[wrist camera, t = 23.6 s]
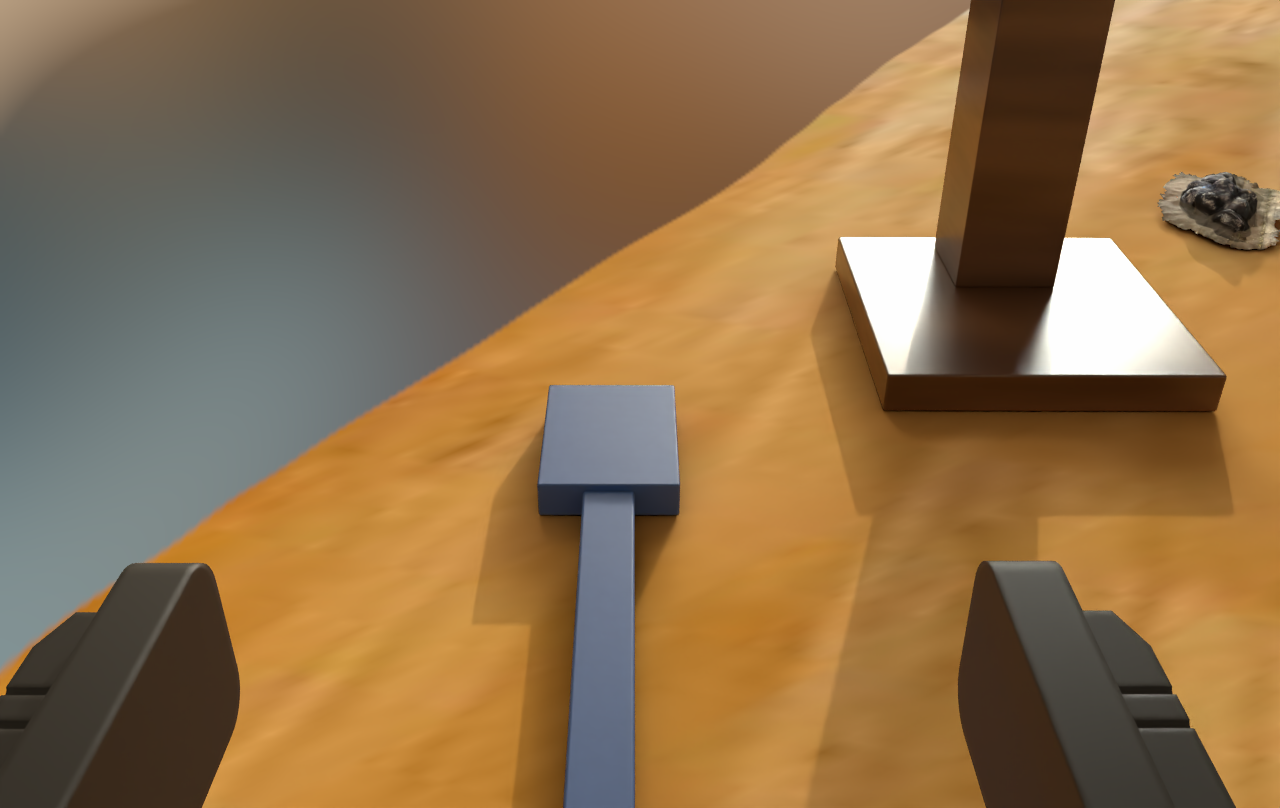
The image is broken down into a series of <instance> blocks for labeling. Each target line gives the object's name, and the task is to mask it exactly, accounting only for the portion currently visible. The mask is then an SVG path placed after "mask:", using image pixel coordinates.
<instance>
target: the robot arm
mask: <svg viewBox="0 0 1280 808" xmlns="http://www.w3.org/2000/svg"><path fill="white" fill-rule="evenodd" d="M6 689H7V691H6V695H1V696H0V808H202V806H203V803H204V801H205V799H206V796H207V794H208V791H209V789H210V786H211V784H212V782H213V779H214V777H215V774H216V772H217V770H218V767H219V765H220V762H221V760H222V758H223V755H224V753H225V750H226V748H227V745H228V743H229V741H230V738H231V736H232V733H233V730H234V727H235V724H236V720H237V715H238V709H239V699H240V680H239V673H238V667H237V663H236V659H235V655H234V651H233V647H232V643H231V639H230V635H229V631H228V627H227V623H226V619H225V615H224V611H223V607H222V603H221V599H220V595H219V591H218V587H217V583H216V580H215V576H214V574H213V572H212V570H211V569H210V567H209V566H208V565H207V564H204V563H134V564H131V565H129V566H127V567H126V568H125V569H124V570H123V572H122V573H121V575H120V576H119V578H118V579H117V581H116V583H115V584H114V586H113V587H112V589H111V591H110V592H109V594H108V595H107V597H106V599H105V600H104V602H103V604H102V605H101V607H100V608H99V610H98V612H97V613H90V612H76V613H75V614H74V615H72V616H71V617H70V618H69V619H67V620H66V621H65V622H64V623H62V624H61V625H60V626H59V627H57V628H56V629H55V630H54V631H52V632H51V633H50V634H49V635H47V636H46V637H45V638H44V639H43V640H41V641H40V642H39V643H38V644H36V645H35V646H34V647H33V648H32V649H31V651H30V652H29V654H28V655H27V657H26V658H25V660H24V661H23V663H22V664H21V666H20V667H19V669H18V670H17V672H16V673H15V675H14V676H13V678H12V679H11V681H10V682H9V684H8V685H7V687H6ZM958 701H959V712H960V718H961V724H962V728H963V732H964V736H965V739H966V742H967V746H968V749H969V752H970V756H971V759H972V762H973V766H974V769H975V772H976V776H977V779H978V782H979V786H980V789H981V792H982V796H983V799H984V802H985V806H986V808H1236V807H1235V805H1234V803H1233V801H1232V799H1231V797H1230V795H1229V793H1228V792H1227V790H1226V788H1225V786H1224V784H1223V782H1222V780H1221V778H1220V776H1219V775H1218V773H1217V771H1216V769H1215V767H1214V765H1213V763H1212V761H1211V759H1210V757H1209V756H1208V754H1207V752H1206V750H1205V748H1204V746H1203V744H1202V742H1201V740H1200V739H1199V737H1198V735H1197V733H1196V731H1195V729H1193V728H1190V725H1189V721H1190V720H1189V718H1188V716H1187V714H1186V712H1185V710H1184V708H1183V706H1182V704H1181V703H1180V701H1179V699H1178V697H1177V695H1173V694H1172V686H1171V684H1170V682H1169V680H1168V678H1167V676H1166V674H1165V672H1164V670H1163V668H1162V667H1161V665H1160V663H1159V661H1158V659H1157V657H1156V655H1155V653H1154V651H1153V650H1152V648H1151V646H1150V645H1149V644H1148V643H1147V642H1146V641H1145V640H1143V639H1142V638H1141V637H1140V636H1139V635H1138V634H1137V633H1136V632H1135V631H1133V630H1132V629H1131V628H1130V627H1129V626H1128V625H1127V624H1126V623H1125V622H1123V621H1122V620H1121V619H1120V618H1119V617H1118V616H1117V615H1116V614H1115V613H1113V612H1112V611H1082V609H1081V606H1080V604H1079V602H1078V600H1077V598H1076V596H1075V594H1074V592H1073V590H1072V587H1071V585H1070V583H1069V581H1068V579H1067V577H1066V575H1065V573H1064V571H1063V569H1062V567H1061V566H1060V565H1059V564H1058V563H1057V562H1056V561H983V562H981V564H980V565H979V567H978V569H977V572H976V576H975V581H974V587H973V593H972V598H971V604H970V610H969V616H968V621H967V627H966V633H965V639H964V644H963V650H962V656H961V661H960V667H959V676H958Z"/></svg>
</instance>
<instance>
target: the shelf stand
mask: <svg viewBox="0 0 1280 808" xmlns="http://www.w3.org/2000/svg"><path fill="white" fill-rule="evenodd" d="M1114 2H1115V0H971V4H970V11H969V18H968V25H967V31H966V38H965V45H964V51H963V58H962V65H961V71H960V78H959V85H958V92H957V98H956V105H955V112H954V118H953V125H952V132H951V139H950V145H949V152H948V159H947V165H946V172H945V179H944V185H943V192H942V199H941V206H940V212H939V219H938V226H937V232H936V238H879V237H840V238H839V239H838V247H837V256H836V266H835V267H836V270H837V273H838V276H839V279H840V282H841V285H842V288H843V291H844V294H845V297H846V300H847V303H848V306H849V309H850V312H851V315H852V318H853V321H854V324H855V327H856V330H857V333H858V336H859V339H860V342H861V344H862V347H863V350H864V353H865V356H866V359H867V362H868V365H869V368H870V371H871V374H872V377H873V380H874V383H875V386H876V389H877V392H878V395H879V398H880V401H881V404H882V407H883V410H968V411H1216V410H1217V406H1218V403H1219V400H1220V397H1221V394H1222V390H1223V387H1224V384H1225V381H1226V375H1225V374H1224V372H1223V371H1222V370H1221V369H1220V368H1219V366H1218V365H1217V364H1216V363H1215V362H1214V361H1213V359H1212V358H1211V357H1210V356H1209V355H1208V353H1207V352H1206V351H1205V350H1204V349H1203V347H1202V346H1201V345H1200V344H1199V343H1198V342H1197V340H1196V339H1195V338H1194V337H1193V336H1192V334H1191V333H1190V332H1189V331H1188V330H1187V328H1186V327H1185V326H1184V325H1183V324H1182V323H1181V321H1180V320H1179V319H1178V318H1177V317H1176V315H1175V314H1174V313H1173V312H1172V311H1171V309H1170V308H1169V307H1168V306H1167V305H1166V304H1165V302H1164V301H1163V300H1162V299H1161V298H1160V296H1159V295H1158V294H1157V293H1156V292H1155V291H1154V289H1153V288H1152V287H1151V286H1150V285H1149V283H1148V282H1147V281H1146V280H1145V279H1144V277H1143V276H1142V275H1141V274H1140V273H1139V272H1138V270H1137V269H1136V268H1135V267H1134V266H1133V264H1132V263H1131V262H1130V261H1129V260H1128V258H1127V257H1126V256H1125V255H1124V254H1123V253H1122V251H1121V250H1120V249H1119V248H1118V247H1117V245H1116V244H1115V243H1114V242H1113V241H1112V239H1110V238H1065V233H1066V228H1067V224H1068V219H1069V214H1070V210H1071V205H1072V200H1073V196H1074V191H1075V186H1076V181H1077V177H1078V172H1079V167H1080V163H1081V158H1082V153H1083V148H1084V144H1085V139H1086V134H1087V130H1088V125H1089V120H1090V115H1091V111H1092V106H1093V101H1094V97H1095V92H1096V87H1097V82H1098V78H1099V73H1100V68H1101V64H1102V59H1103V54H1104V49H1105V45H1106V40H1107V35H1108V31H1109V26H1110V21H1111V16H1112V12H1113V7H1114Z"/></svg>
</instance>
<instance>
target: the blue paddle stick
mask: <svg viewBox="0 0 1280 808" xmlns="http://www.w3.org/2000/svg"><path fill="white" fill-rule="evenodd" d="M537 487H538V506H539V514H540V515H581V530H580V546H579V562H578V578H577V594H576V610H575V626H574V642H573V658H572V674H571V690H570V706H569V722H568V738H567V754H566V770H565V786H564V802H563V808H635V515H678V514H679V501H680V478H679V460H678V443H677V425H676V407H675V390H674V386H673V385H550V386H549V392H548V401H547V409H546V417H545V426H544V434H543V443H542V451H541V459H540V468H539V476H538V484H537Z"/></svg>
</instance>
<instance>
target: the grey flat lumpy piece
mask: <svg viewBox="0 0 1280 808" xmlns="http://www.w3.org/2000/svg"><path fill="white" fill-rule="evenodd" d="M1179 174H1180V175H1176V174H1174V176H1175V177H1176V178H1175V179H1171V180H1170V182H1168V183H1166V184H1165V186H1164V188H1165V189H1166V190H1167V191H1166V192H1165V194H1160V195H1161V196H1162V197H1163V199H1164V200H1163V199H1160V200H1159V201H1160V202H1159V203H1158V202H1157V203H1158V204H1159V206H1160V208H1161V209H1162V211H1161V212H1162V213H1163V214H1164V217H1163V218H1162V220H1163V221H1164V220H1166V221H1168V220H1169V223H1172V224H1174V225H1177V227H1179V228H1182V229H1185V230H1187V229H1192V230H1193V231H1196V232H1194V233H1196V234H1198V233H1200V234H1202V235H1203V236H1204V237H1205V236H1206V237H1207V238H1209V237H1210V239H1213V240H1214V241H1215V242H1218V243H1221V244H1224V245H1225V244H1228V245H1229V244H1230V247H1232V248H1237V249H1245V250H1247V249H1248V250H1250V249H1264V248H1267V246H1268V247H1270V245H1272V246H1273V245H1276V243H1277V242H1279V240H1277V239H1276V238H1274V236H1276V235H1278V234H1279V232H1280V230H1277V229H1276V228H1275V227H1274V225H1273V224H1274V223H1276V222H1275V221H1274V220H1278V219H1280V191H1277V190H1270V189H1268V188H1267V189H1263V188H1259V187H1258V184H1257V183H1254V184H1252V183H1249V182H1250V181H1249V180H1246V179H1245V178H1243V177H1242V176H1241V177H1237V175H1235V174H1231V173H1228V172H1223V173H1219V174H1216V175H1215V174H1211V175H1206V176H1205V177H1204V178H1199V177H1197V176H1195V175H1193V176H1192V175H1190V174H1189V175H1185V174H1184V173H1182V172H1181V173H1179ZM1176 196H1177V197H1178V198H1177V197H1176ZM1159 206H1158V207H1159ZM1276 237H1278V236H1276Z"/></svg>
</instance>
